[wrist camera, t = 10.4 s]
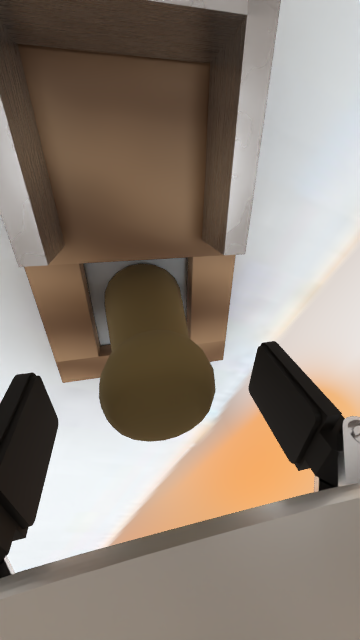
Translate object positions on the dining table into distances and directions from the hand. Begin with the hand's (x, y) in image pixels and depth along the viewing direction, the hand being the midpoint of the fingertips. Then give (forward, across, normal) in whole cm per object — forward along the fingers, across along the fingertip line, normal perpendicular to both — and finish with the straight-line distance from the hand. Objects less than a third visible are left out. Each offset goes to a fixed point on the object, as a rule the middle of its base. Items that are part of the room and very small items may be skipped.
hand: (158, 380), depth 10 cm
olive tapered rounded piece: (+10, 0, +1) cm, 10 cm away
